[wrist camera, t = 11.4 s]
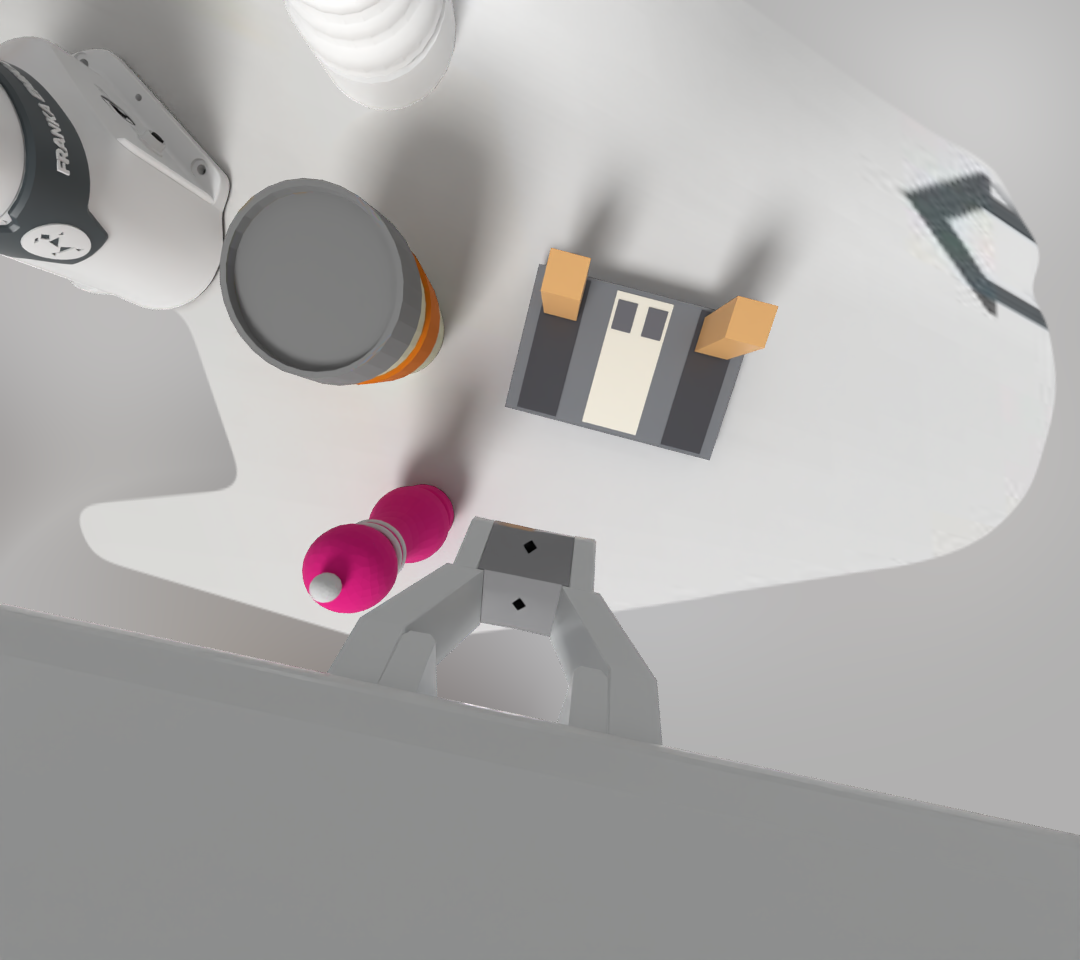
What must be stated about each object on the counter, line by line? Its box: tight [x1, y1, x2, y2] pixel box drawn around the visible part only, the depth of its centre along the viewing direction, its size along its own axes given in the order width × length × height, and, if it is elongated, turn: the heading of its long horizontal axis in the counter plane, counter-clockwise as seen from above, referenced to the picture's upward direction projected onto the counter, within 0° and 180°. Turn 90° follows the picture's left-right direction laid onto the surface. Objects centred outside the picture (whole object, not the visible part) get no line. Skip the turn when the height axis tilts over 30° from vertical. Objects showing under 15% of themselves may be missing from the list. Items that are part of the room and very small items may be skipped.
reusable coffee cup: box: [220, 178, 444, 386], centre depth 34 cm, size 12×13×15 cm
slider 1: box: [541, 248, 591, 321], centre depth 34 cm, size 3×3×7 cm
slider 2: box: [695, 296, 778, 360], centre depth 34 cm, size 3×3×7 cm
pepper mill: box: [302, 484, 454, 613], centre depth 34 cm, size 7×7×20 cm
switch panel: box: [505, 264, 744, 460], centre depth 40 cm, size 13×20×3 cm, turn 76°
